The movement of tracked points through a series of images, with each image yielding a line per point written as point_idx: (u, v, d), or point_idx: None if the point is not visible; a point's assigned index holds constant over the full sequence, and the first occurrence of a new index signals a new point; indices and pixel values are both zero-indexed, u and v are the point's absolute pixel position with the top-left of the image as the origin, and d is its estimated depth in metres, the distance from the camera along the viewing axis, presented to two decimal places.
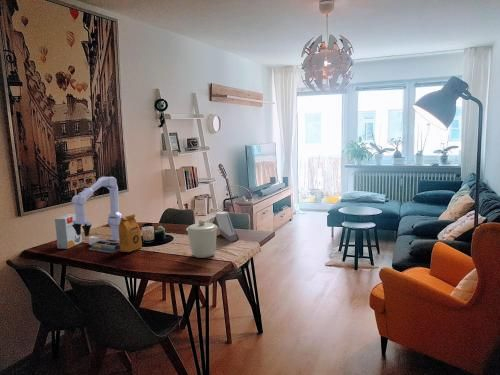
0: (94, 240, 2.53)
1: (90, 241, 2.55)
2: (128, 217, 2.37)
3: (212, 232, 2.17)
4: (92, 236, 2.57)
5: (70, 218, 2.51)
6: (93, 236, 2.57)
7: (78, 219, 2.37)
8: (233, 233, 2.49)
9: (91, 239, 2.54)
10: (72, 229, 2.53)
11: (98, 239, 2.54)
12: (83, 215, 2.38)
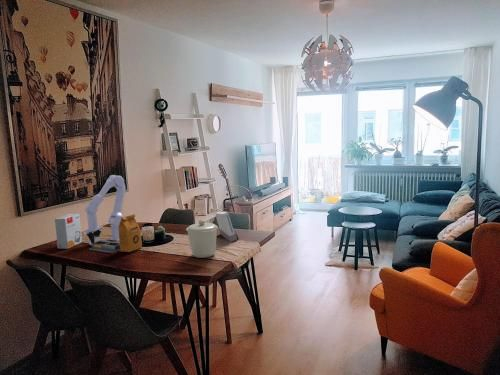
0: (94, 240, 2.53)
1: (90, 241, 2.55)
2: (128, 217, 2.37)
3: (212, 232, 2.17)
4: None
5: (70, 218, 2.51)
6: None
7: None
8: (233, 233, 2.49)
9: None
10: (72, 229, 2.53)
11: (98, 239, 2.54)
12: (89, 224, 2.51)
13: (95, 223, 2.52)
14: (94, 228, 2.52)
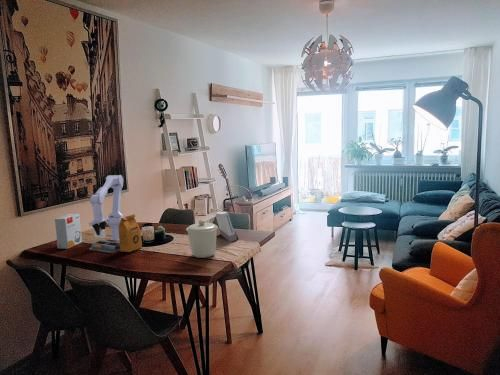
0: None
1: (95, 234, 2.46)
2: (128, 217, 2.37)
3: (212, 232, 2.17)
4: None
5: (70, 218, 2.51)
6: None
7: None
8: (233, 233, 2.49)
9: None
10: (72, 229, 2.53)
11: (103, 232, 2.45)
12: (94, 215, 2.42)
13: (101, 214, 2.43)
14: (100, 219, 2.43)
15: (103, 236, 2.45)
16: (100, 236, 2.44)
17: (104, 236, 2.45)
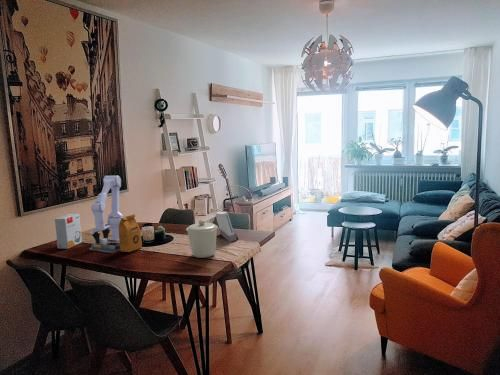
0: (101, 241, 2.45)
1: None
2: (128, 217, 2.37)
3: (212, 232, 2.17)
4: None
5: (70, 218, 2.51)
6: None
7: None
8: (232, 233, 2.49)
9: None
10: (72, 229, 2.53)
11: (105, 240, 2.45)
12: (96, 223, 2.42)
13: (102, 222, 2.43)
14: (101, 227, 2.43)
15: None
16: None
17: None
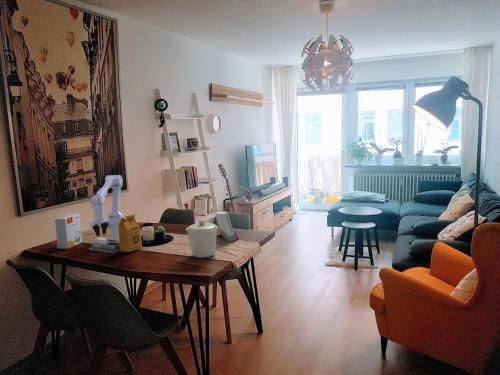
0: (101, 241, 2.45)
1: None
2: (128, 217, 2.37)
3: (212, 232, 2.17)
4: None
5: (70, 218, 2.51)
6: None
7: None
8: (232, 233, 2.49)
9: (98, 240, 2.46)
10: (72, 229, 2.53)
11: (105, 240, 2.45)
12: (95, 216, 2.41)
13: (102, 215, 2.42)
14: (101, 220, 2.42)
15: None
16: None
17: None
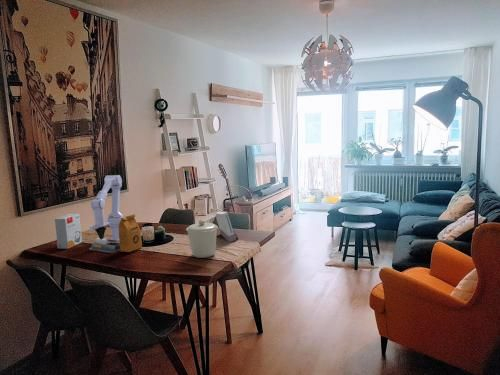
0: (101, 241, 2.45)
1: None
2: (128, 217, 2.37)
3: (212, 232, 2.17)
4: None
5: (70, 218, 2.51)
6: None
7: None
8: (232, 233, 2.49)
9: (98, 240, 2.46)
10: (72, 229, 2.53)
11: (105, 240, 2.45)
12: (95, 219, 2.42)
13: (102, 219, 2.43)
14: (101, 224, 2.43)
15: None
16: None
17: None
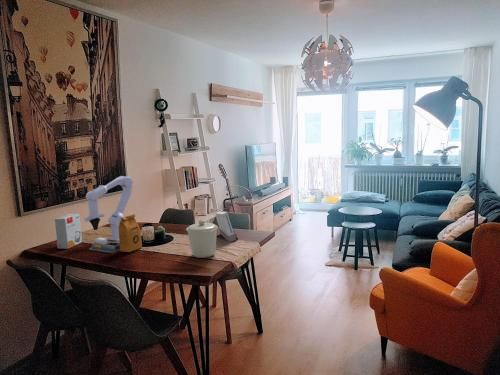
0: (101, 241, 2.45)
1: None
2: (128, 217, 2.37)
3: (212, 232, 2.17)
4: None
5: (70, 218, 2.51)
6: None
7: None
8: (232, 233, 2.49)
9: (98, 240, 2.46)
10: (72, 229, 2.53)
11: (105, 240, 2.45)
12: (90, 211, 2.50)
13: (96, 210, 2.51)
14: (95, 215, 2.51)
15: None
16: None
17: None
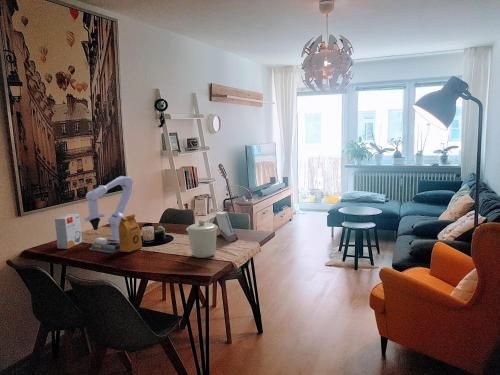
0: (101, 241, 2.45)
1: None
2: (128, 217, 2.37)
3: (212, 232, 2.17)
4: None
5: (70, 218, 2.51)
6: None
7: None
8: (232, 233, 2.49)
9: (98, 240, 2.46)
10: (72, 229, 2.53)
11: (105, 240, 2.45)
12: (90, 211, 2.50)
13: (96, 210, 2.51)
14: (95, 215, 2.51)
15: None
16: None
17: None
